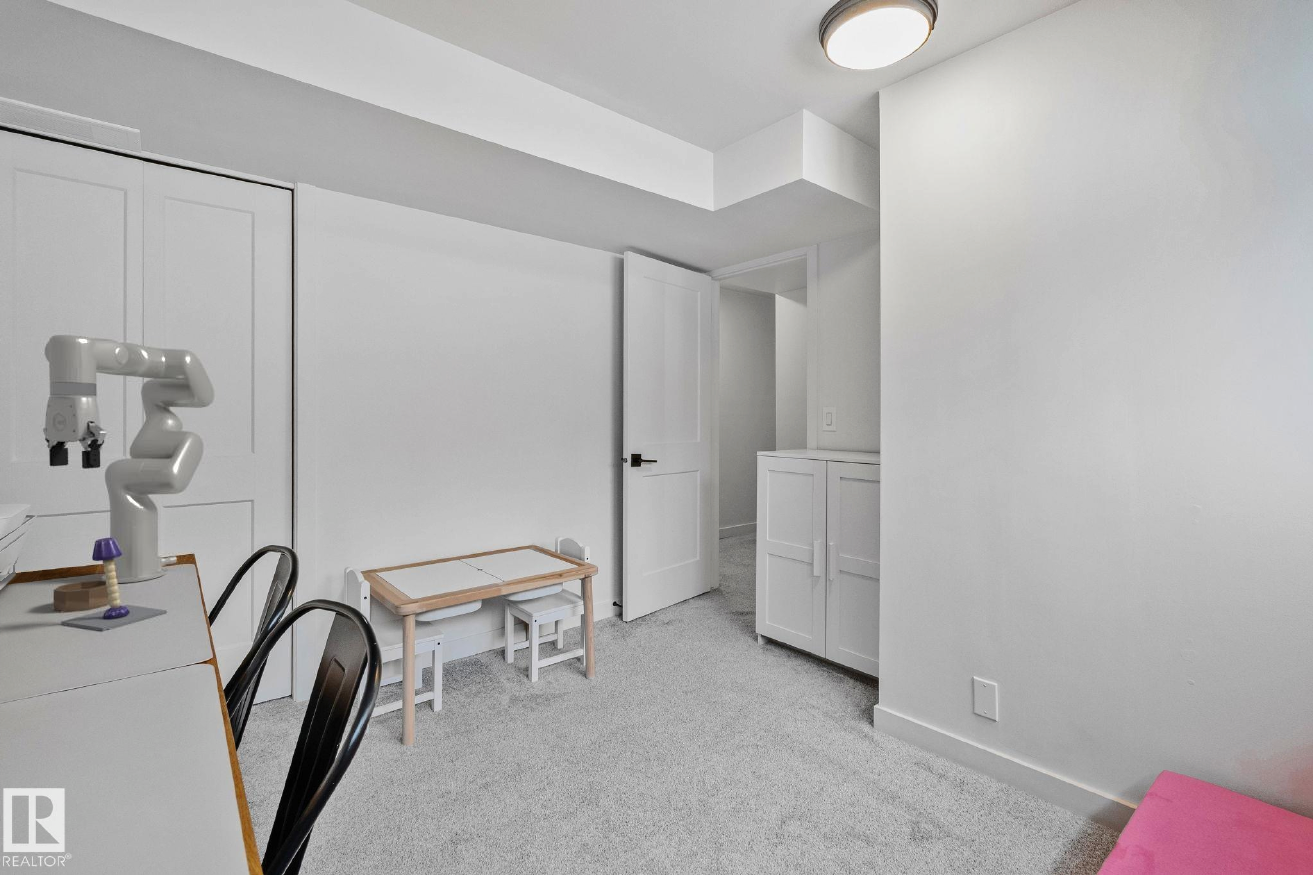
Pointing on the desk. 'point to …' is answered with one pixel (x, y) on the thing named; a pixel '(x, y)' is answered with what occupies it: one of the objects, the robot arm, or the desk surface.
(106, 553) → the toy lamp
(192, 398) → the robot arm
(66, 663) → the desk surface
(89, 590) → the holder ring
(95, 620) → the mat
